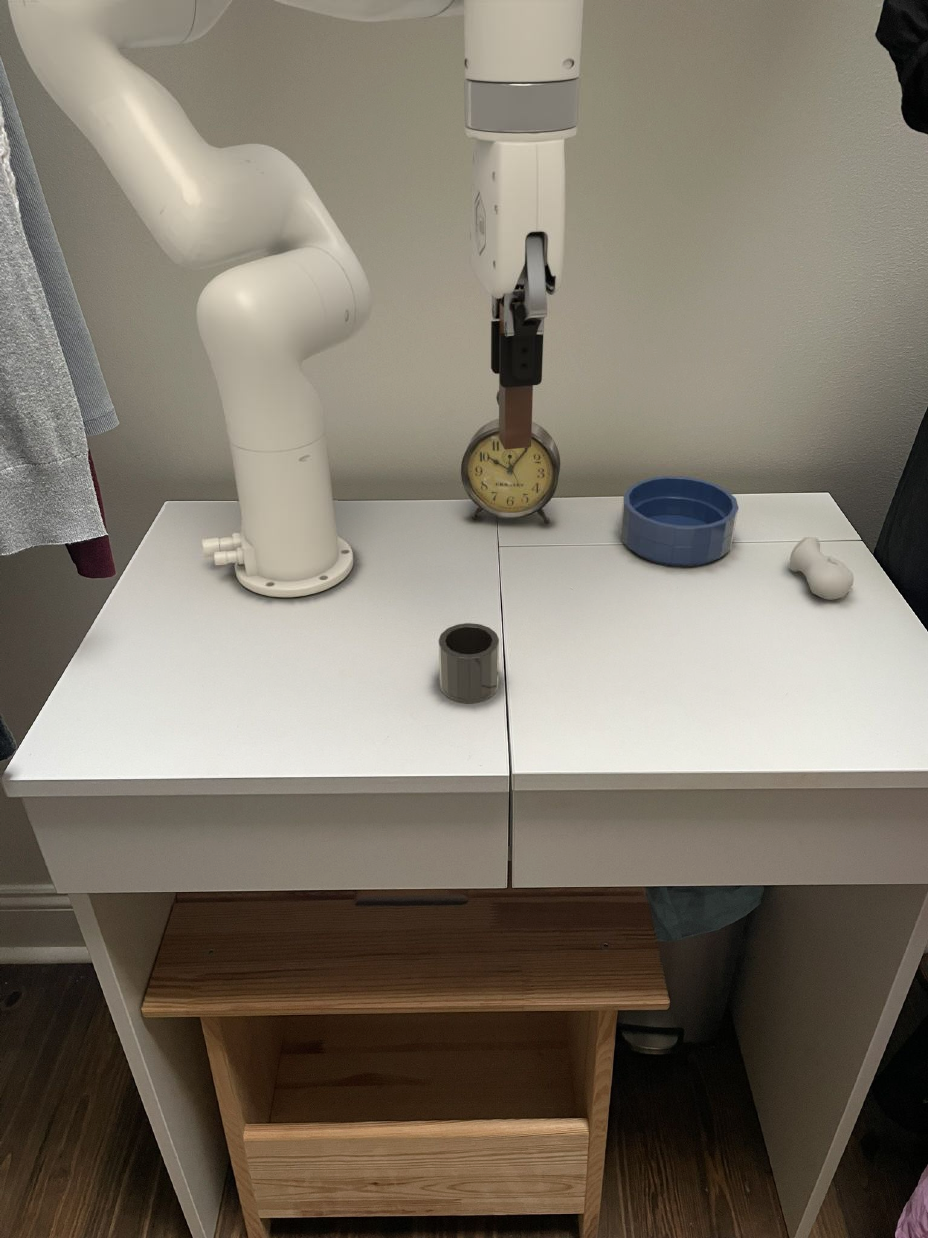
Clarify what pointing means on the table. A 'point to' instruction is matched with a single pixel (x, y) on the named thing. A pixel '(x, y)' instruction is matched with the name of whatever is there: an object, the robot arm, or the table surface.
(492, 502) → the alarm clock
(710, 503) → the bowl
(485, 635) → the crock
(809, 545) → the smooth white sculpture
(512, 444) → the stick
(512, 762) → the table surface
